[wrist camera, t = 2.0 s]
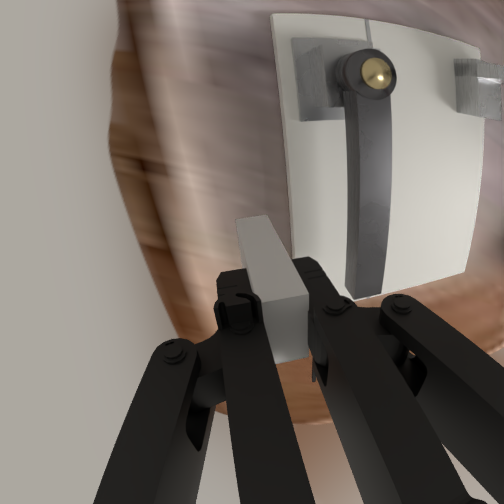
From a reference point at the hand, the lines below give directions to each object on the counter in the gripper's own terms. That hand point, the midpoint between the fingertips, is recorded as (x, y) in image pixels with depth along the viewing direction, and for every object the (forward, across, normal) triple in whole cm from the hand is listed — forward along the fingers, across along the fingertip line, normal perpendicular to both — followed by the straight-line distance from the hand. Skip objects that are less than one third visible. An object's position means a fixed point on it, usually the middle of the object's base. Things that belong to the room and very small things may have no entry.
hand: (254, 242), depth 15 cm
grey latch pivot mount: (+7, +8, +8) cm, 13 cm away
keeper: (+7, +21, +8) cm, 24 cm away
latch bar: (+4, +8, +1) cm, 9 cm away
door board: (+8, +14, +1) cm, 16 cm away
